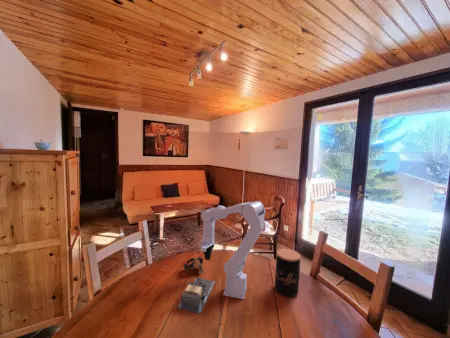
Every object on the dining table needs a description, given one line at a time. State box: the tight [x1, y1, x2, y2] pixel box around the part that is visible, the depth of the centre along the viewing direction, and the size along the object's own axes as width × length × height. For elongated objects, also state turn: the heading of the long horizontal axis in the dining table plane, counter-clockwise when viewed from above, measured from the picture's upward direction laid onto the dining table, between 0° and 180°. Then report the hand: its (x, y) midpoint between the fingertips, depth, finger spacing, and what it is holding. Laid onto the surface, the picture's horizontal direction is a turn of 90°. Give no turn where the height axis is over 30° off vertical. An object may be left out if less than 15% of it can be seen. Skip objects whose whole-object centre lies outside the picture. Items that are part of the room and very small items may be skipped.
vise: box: [177, 277, 216, 315], centre depth 89 cm, size 10×20×5 cm, turn 167°
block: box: [184, 284, 202, 297], centre depth 84 cm, size 6×4×5 cm, turn 77°
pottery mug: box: [183, 256, 204, 277], centre depth 107 cm, size 12×10×8 cm
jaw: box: [187, 281, 207, 298], centre depth 89 cm, size 8×7×4 cm
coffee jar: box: [274, 248, 301, 298], centre depth 94 cm, size 11×11×18 cm
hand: (207, 259), depth 100 cm, fingers closed
